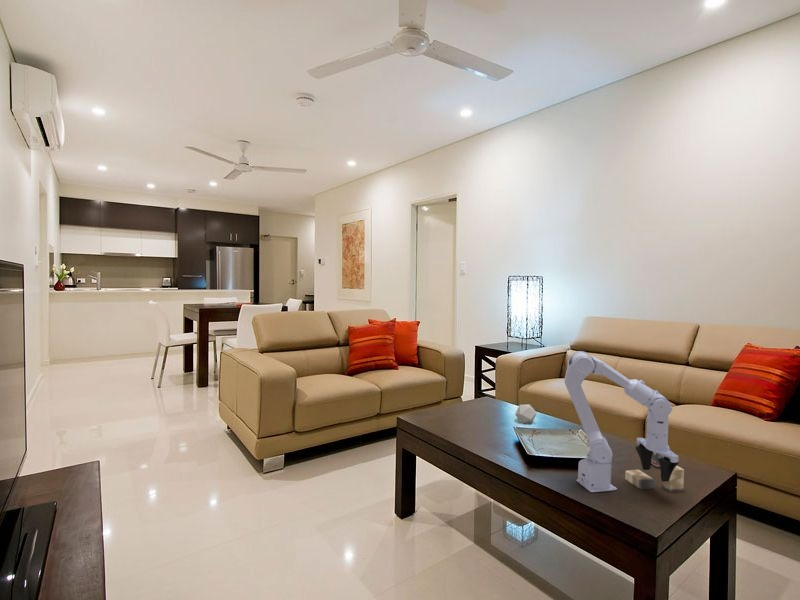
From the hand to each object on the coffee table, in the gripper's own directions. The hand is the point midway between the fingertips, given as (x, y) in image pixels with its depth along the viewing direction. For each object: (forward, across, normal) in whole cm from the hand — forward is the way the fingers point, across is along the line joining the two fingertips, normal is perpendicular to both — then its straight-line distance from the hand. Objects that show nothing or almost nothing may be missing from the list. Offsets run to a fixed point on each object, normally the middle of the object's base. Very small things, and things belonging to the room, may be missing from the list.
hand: (655, 475), depth 130 cm
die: (+6, +68, +10) cm, 68 cm away
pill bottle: (+6, +18, -18) cm, 26 cm away
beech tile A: (+5, +3, 0) cm, 5 cm away
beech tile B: (+6, +2, -8) cm, 10 cm away
